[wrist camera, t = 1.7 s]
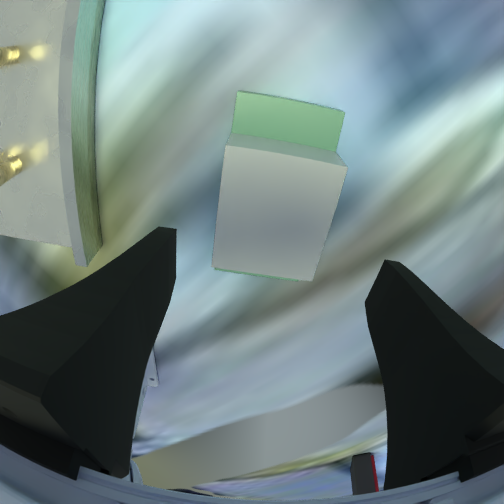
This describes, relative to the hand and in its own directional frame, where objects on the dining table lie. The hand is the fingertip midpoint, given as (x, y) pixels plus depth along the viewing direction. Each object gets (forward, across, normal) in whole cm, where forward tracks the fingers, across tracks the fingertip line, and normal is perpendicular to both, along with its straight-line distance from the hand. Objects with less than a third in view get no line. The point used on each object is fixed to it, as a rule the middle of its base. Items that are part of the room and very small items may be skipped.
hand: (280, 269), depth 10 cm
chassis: (+7, +17, -4) cm, 19 cm away
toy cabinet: (+7, -25, +45) cm, 52 cm away
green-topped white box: (+7, 0, 0) cm, 7 cm away
